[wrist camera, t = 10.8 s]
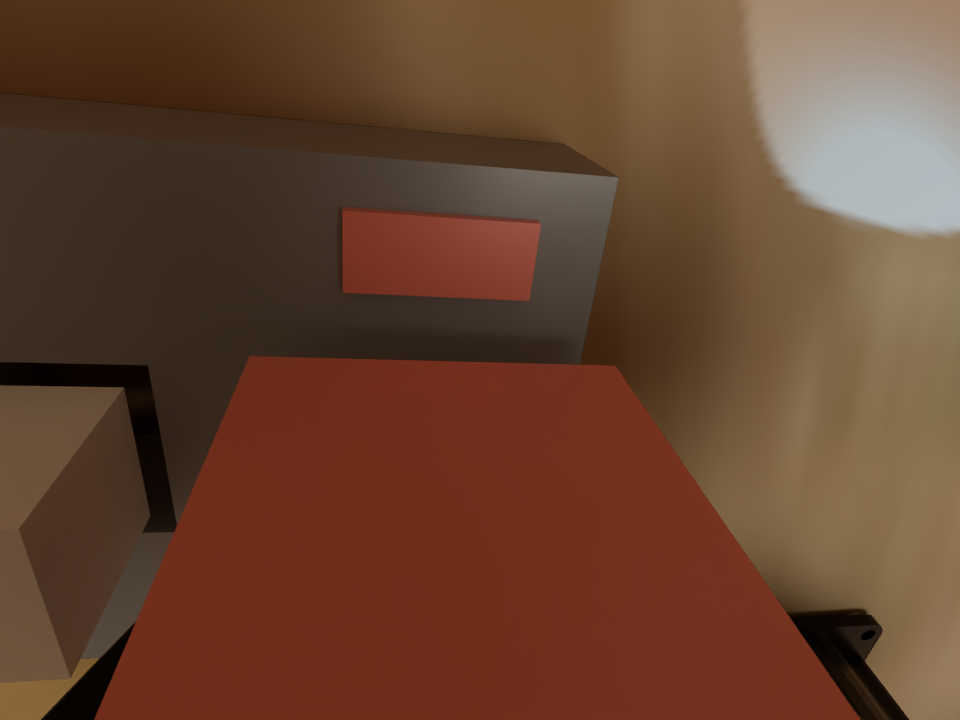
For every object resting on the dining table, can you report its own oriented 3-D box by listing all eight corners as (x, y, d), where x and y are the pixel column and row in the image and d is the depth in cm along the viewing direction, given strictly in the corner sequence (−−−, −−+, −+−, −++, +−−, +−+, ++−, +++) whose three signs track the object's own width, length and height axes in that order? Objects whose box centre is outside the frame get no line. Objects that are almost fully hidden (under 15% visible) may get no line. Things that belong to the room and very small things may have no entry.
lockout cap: (615, 365, 9) (960, 862, 3) (557, 604, 11) (710, 1114, 6) (249, 356, 8) (-26, 999, 3) (272, 617, 10) (153, 1227, 5)
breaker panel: (564, 144, 11) (622, 180, 8) (501, 535, 16) (525, 642, 13) (-602, 38, 8) (-1097, 40, 6) (-260, 555, 13) (-435, 697, 10)
